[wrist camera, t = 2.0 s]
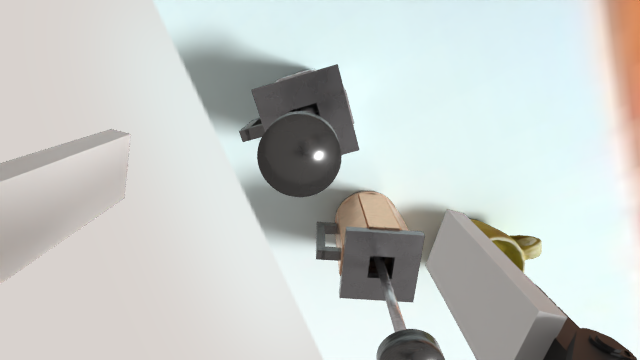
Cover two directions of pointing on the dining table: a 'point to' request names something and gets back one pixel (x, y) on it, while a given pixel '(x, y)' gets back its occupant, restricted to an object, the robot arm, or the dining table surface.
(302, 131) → the plunger steel
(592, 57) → the dining table surface
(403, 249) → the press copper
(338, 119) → the plate
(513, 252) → the mug
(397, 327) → the plunger copper
